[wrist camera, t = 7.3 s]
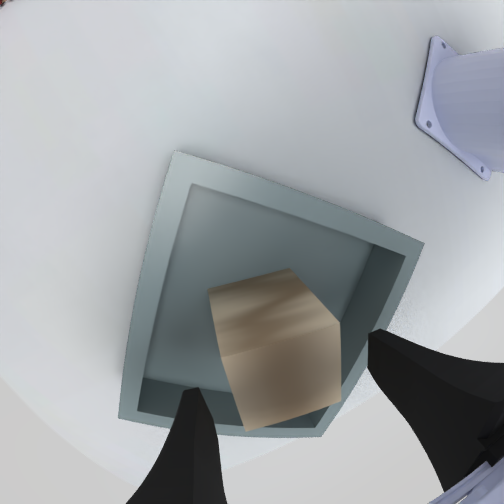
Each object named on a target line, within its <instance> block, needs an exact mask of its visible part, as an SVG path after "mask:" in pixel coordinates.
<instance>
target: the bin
mask: <svg viewBox="0 0 504 504" xmlns="http://www.w3.org/2000/svg"><path fill="white" fill-rule="evenodd" d="M423 246H424V243H423V242H421V241H418V240H416V239H414V238H412V237H410V236H407V235H405V234H403V233H401V232H399V231H396V230H394V229H392V228H389V227H387V226H385V225H383V224H380V223H378V222H376V221H373V220H371V219H368V218H366V217H364V216H361V215H359V214H356V213H354V212H352V211H349V210H347V209H344V208H342V207H339V206H337V205H334V204H332V203H329V202H326V201H324V200H321V199H319V198H316V197H313V196H311V195H308V194H305V193H303V192H300V191H297V190H295V189H292V188H289V187H286V186H284V185H281V184H278V183H275V182H272V181H269V180H267V179H264V178H261V177H258V176H255V175H252V174H249V173H246V172H243V171H240V170H237V169H234V168H231V167H228V166H225V165H221V164H218V163H215V162H212V161H209V160H205V159H202V158H199V157H195V156H192V155H189V154H185V153H182V152H178V151H175V150H174V153H173V156H172V159H171V162H170V165H169V169H168V172H167V175H166V178H165V182H164V185H163V188H162V192H161V195H160V199H159V202H158V206H157V209H156V213H155V217H154V220H153V224H152V228H151V232H150V236H149V240H148V244H147V248H146V252H145V256H144V260H143V265H142V269H141V274H140V278H139V283H138V288H137V293H136V298H135V303H134V308H133V313H132V319H131V324H130V330H129V336H128V342H127V348H126V355H125V362H124V369H123V377H122V385H121V393H120V403H119V413H118V418H119V419H124V420H128V421H132V422H137V423H142V424H147V425H152V426H158V427H164V428H170V429H171V426H172V424H173V421H174V418H175V415H176V412H177V409H178V406H179V403H180V399H181V396H182V392H183V391H184V390H187V389H192V388H196V387H199V389H200V391H201V393H202V395H203V398H204V400H205V402H206V404H207V406H208V408H209V410H210V413H211V415H212V417H213V419H214V424H215V428H216V433H217V435H228V436H243V437H268V438H303V437H321V436H322V435H323V434H324V432H325V431H326V429H327V428H328V426H329V425H330V423H331V422H332V421H333V419H334V418H335V416H336V415H337V413H338V412H339V410H340V409H341V407H342V406H343V404H344V402H345V401H346V399H347V398H348V396H349V395H350V393H351V391H352V390H353V388H354V387H355V385H356V383H357V382H358V380H359V378H360V377H361V375H362V373H363V371H364V370H365V368H366V366H367V365H368V333H370V332H373V331H375V330H378V329H383V330H385V331H386V329H387V327H388V325H389V323H390V321H391V319H392V317H393V315H394V313H395V311H396V309H397V307H398V305H399V303H400V301H401V298H402V296H403V294H404V292H405V290H406V287H407V285H408V283H409V281H410V278H411V276H412V273H413V271H414V269H415V266H416V264H417V261H418V259H419V256H420V254H421V251H422V249H423ZM287 268H290V269H291V270H292V271H293V272H294V273H295V274H296V275H297V276H298V278H299V279H300V280H301V281H302V282H303V283H304V284H305V285H306V286H307V287H308V288H309V289H310V291H311V292H312V293H313V294H314V295H315V296H316V297H317V298H318V299H319V300H320V301H321V303H322V304H323V305H324V306H325V307H326V308H327V309H328V310H329V311H330V312H331V313H332V315H333V316H334V317H335V318H336V319H337V320H338V321H339V322H340V337H341V401H340V402H338V403H335V404H332V405H330V406H327V407H324V408H322V409H319V410H316V411H313V412H310V413H307V414H304V415H301V416H298V417H295V418H292V419H289V420H286V421H282V422H279V423H276V424H272V425H269V426H265V427H262V428H258V429H254V430H250V431H245V428H244V426H243V423H242V420H241V417H240V414H239V411H238V408H237V405H236V402H235V400H234V397H233V394H232V391H231V388H230V385H229V381H228V378H227V375H226V372H225V369H224V366H223V363H222V360H221V356H220V351H219V346H218V341H217V336H216V331H215V326H214V321H213V316H212V311H211V306H210V300H209V295H208V289H209V288H213V287H217V286H221V285H225V284H229V283H233V282H237V281H241V280H245V279H249V278H253V277H256V276H260V275H264V274H268V273H272V272H276V271H280V270H284V269H287Z"/></svg>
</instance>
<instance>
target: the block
mask: <svg viewBox="0 0 504 504" xmlns="http://www.w3.org/2000/svg"><path fill="white" fill-rule="evenodd" d="M208 295H209V300H210V306H211V311H212V316H213V321H214V326H215V331H216V336H217V341H218V346H219V351H220V356H221V360H222V363H223V366H224V369H225V372H226V375H227V378H228V381H229V385H230V388H231V391H232V394H233V397H234V400H235V402H236V405H237V408H238V411H239V414H240V417H241V420H242V423H243V426H244V428H245V431H250V430H254V429H258V428H262V427H265V426H269V425H272V424H276V423H279V422H282V421H286V420H289V419H292V418H295V417H298V416H301V415H304V414H307V413H310V412H313V411H316V410H319V409H322V408H324V407H327V406H330V405H332V404H335V403H338V402H340V401H341V337H340V322H339V321H338V320H337V319H336V318H335V317H334V316H333V315H332V313H331V312H330V311H329V310H328V309H327V308H326V307H325V306H324V305H323V304H322V303H321V301H320V300H319V299H318V298H317V297H316V296H315V295H314V294H313V293H312V292H311V291H310V289H309V288H308V287H307V286H306V285H305V284H304V283H303V282H302V281H301V280H300V279H299V278H298V276H297V275H296V274H295V273H294V272H293V271H292V270H291V269H290V268H287V269H284V270H280V271H276V272H272V273H268V274H264V275H260V276H256V277H253V278H249V279H245V280H241V281H237V282H233V283H229V284H225V285H221V286H217V287H213V288H209V289H208Z"/></svg>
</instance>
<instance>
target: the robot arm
mask: <svg viewBox="0 0 504 504" xmlns="http://www.w3.org/2000/svg"><path fill="white" fill-rule="evenodd" d="M415 121H416V124H417V126H418V127H419V128H421V129H422V130H423V131H425V132H426V133H427V134H429V135H430V136H432V137H433V138H434V139H435V140H437V141H438V142H439V143H441V144H442V145H443V146H445V147H446V148H447V149H448V150H450V151H451V152H452V153H453V154H454V155H456V156H457V157H458V158H459V159H461V160H462V161H463V162H464V163H465V164H466V165H468V166H469V167H470V168H471V169H472V170H473V171H474V172H476V173H477V174H478V175H479V176H480V177H481V178H482V179H483V180H486V181H488V180H489V179H490V176H491V171H497V172H502V173H504V48H499V49H492V50H486V51H480V52H475V53H470V54H465V55H459V54H458V53H457V52H456V51H455V50H453V49H452V48H451V47H450V46H449V45H448V44H447V43H446V42H445V41H444V40H442V39H441V38H440V37H439V36H433V37H432V39H431V45H430V51H429V57H428V62H427V68H426V73H425V78H424V83H423V87H422V92H421V96H420V101H419V105H418V109H417V113H416V118H415ZM426 122H427V123H428V127H427V125H426ZM367 368H368V370H369V372H370V373H371V375H372V377H373V379H374V380H375V382H376V383H377V385H378V386H379V388H380V389H381V390H382V391H383V392H384V394H385V395H386V396H387V397H388V399H389V400H390V401H391V402H392V403H393V405H395V407H396V408H397V410H398V411H399V412H400V413H401V414H402V415H403V417H404V418H405V419H406V421H407V422H408V423H409V425H410V426H411V428H412V430H413V431H414V433H415V434H416V436H417V437H418V439H419V441H420V443H421V444H422V446H423V448H424V450H425V452H426V453H427V455H428V457H429V459H430V461H431V463H432V465H433V467H434V469H435V471H436V474H437V476H438V478H439V480H440V483H441V485H442V488H443V491H444V493H443V494H442V495H440V496H439V497H437V498H436V499H434V500H433V501H431V502H429V503H428V504H456V503H457V502H458V501H460V500H461V499H462V498H464V497H465V496H466V495H467V497H466V498H465V499H463V500H462V501H461V502H460V503H459V504H504V363H491V362H481V361H473V360H466V359H462V358H458V357H454V356H450V355H446V354H443V353H440V352H437V351H434V350H431V349H428V348H426V347H423V346H420V345H418V344H415V343H413V342H411V341H408V340H406V339H404V338H401V337H399V336H397V335H395V334H392V333H390V332H388V331H385V330H383V329H378V330H375V331H373V332H370V333H368V365H367ZM126 504H227V501H226V497H225V493H224V487H223V480H222V472H221V462H220V453H219V444H218V437H217V433H216V428H215V424H214V419H213V417H212V415H211V413H210V410H209V408H208V406H207V404H206V402H205V400H204V398H203V395H202V393H201V391H200V389H199V387H196V388H192V389H187V390H184V391H183V392H182V396H181V399H180V403H179V406H178V409H177V412H176V415H175V418H174V421H173V424H172V426H171V429H170V432H169V434H168V437H167V439H166V441H165V443H164V446H163V448H162V450H161V452H160V454H159V456H158V458H157V460H156V462H155V464H154V465H153V467H152V469H151V470H150V472H149V474H148V475H147V477H146V478H145V480H144V481H143V483H142V484H141V485H140V487H139V488H138V490H137V491H136V492H135V493H134V495H133V496H132V497H131V498H130V499H129V500H128V502H127V503H126Z"/></svg>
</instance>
